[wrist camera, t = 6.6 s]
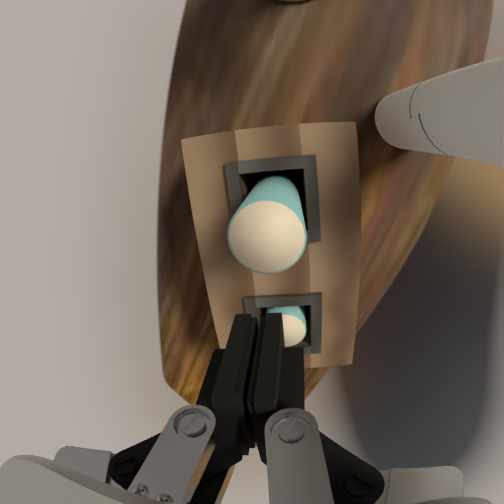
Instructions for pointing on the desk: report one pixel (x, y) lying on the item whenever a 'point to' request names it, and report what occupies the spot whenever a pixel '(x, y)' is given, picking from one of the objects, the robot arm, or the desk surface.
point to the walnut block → (316, 223)
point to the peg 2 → (292, 323)
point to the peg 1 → (269, 226)
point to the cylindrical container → (449, 114)
